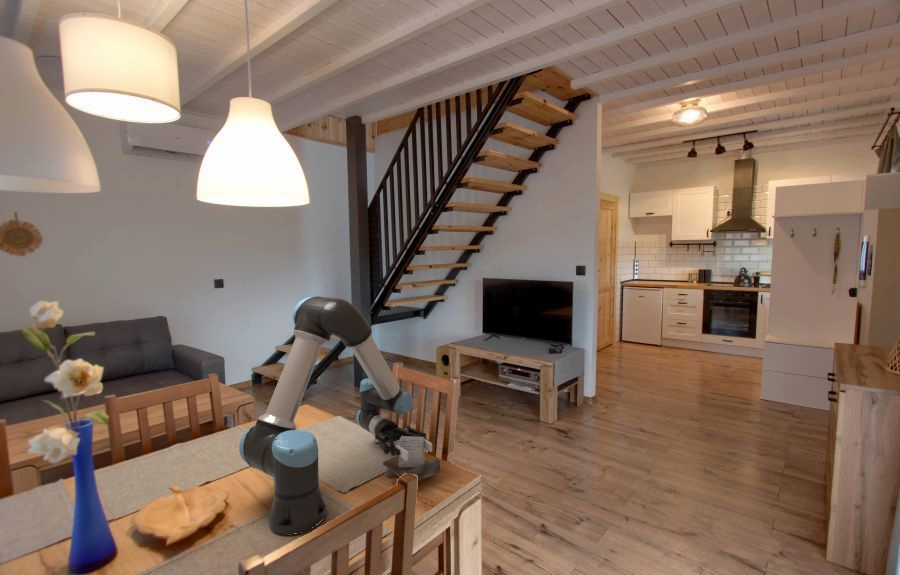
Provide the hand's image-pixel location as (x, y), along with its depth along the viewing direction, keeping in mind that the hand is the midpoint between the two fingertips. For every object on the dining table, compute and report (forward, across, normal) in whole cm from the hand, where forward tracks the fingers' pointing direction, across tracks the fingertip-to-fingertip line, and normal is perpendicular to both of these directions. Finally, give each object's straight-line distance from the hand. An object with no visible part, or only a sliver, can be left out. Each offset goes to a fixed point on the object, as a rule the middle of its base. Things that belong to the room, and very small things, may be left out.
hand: (419, 452), depth 134 cm
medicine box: (-5, 0, -6) cm, 8 cm away
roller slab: (-7, -1, -11) cm, 13 cm away
